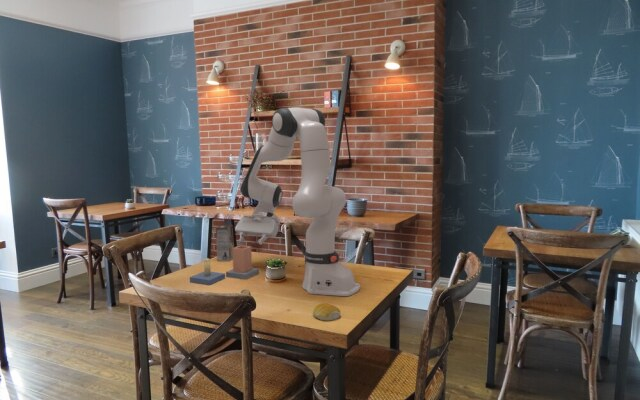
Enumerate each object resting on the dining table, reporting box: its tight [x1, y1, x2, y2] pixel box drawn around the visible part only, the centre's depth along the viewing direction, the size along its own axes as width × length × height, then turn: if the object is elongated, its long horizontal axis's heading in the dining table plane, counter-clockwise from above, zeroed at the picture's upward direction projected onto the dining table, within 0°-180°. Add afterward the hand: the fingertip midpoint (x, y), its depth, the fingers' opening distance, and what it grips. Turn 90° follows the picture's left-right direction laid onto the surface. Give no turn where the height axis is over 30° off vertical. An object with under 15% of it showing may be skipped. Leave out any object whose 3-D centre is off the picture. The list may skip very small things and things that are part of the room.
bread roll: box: [312, 302, 341, 322], centre depth 145 cm, size 8×9×4 cm
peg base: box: [189, 257, 226, 286], centre depth 183 cm, size 10×10×9 cm
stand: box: [225, 267, 260, 280], centre depth 190 cm, size 10×10×10 cm
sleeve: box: [232, 245, 253, 273], centre depth 190 cm, size 6×6×10 cm
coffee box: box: [215, 224, 235, 262], centre depth 216 cm, size 9×6×16 cm
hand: (250, 242), depth 194 cm, fingers open, 8 cm apart
